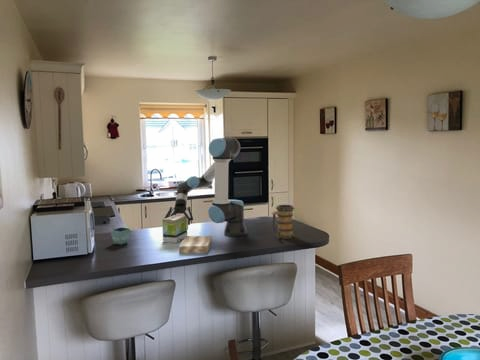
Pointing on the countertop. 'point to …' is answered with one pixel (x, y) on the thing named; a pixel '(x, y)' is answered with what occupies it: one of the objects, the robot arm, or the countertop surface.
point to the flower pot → (120, 235)
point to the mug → (283, 221)
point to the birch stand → (195, 244)
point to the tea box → (174, 228)
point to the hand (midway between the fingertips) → (177, 229)
